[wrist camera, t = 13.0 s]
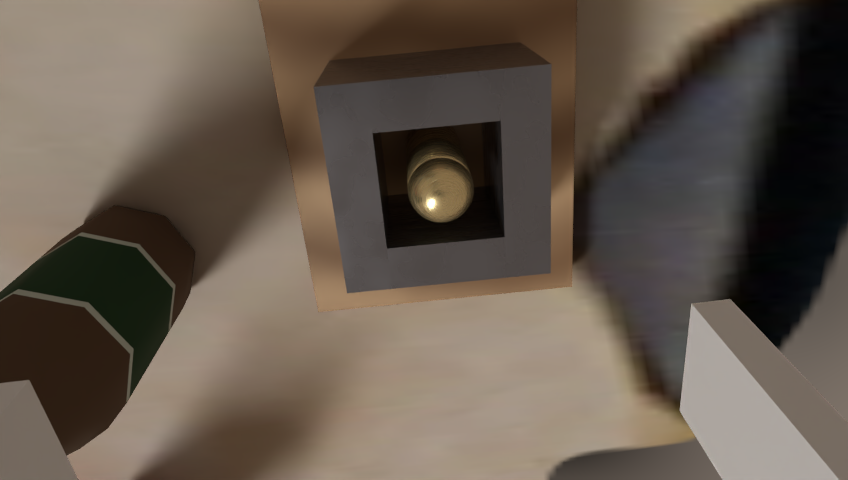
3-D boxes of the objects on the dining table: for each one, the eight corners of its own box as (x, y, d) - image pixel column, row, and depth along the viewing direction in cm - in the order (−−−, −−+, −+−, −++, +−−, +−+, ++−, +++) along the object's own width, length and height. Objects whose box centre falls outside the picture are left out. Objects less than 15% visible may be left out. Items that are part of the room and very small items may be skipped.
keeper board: (259, -38, 31) (251, -37, 30) (567, -68, 31) (578, -69, 30) (321, 295, 40) (318, 311, 38) (563, 271, 40) (571, 286, 38)
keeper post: (402, 121, 33) (405, 172, 26) (456, 116, 33) (475, 164, 26) (407, 173, 35) (412, 236, 27) (460, 168, 35) (479, 229, 27)
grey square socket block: (329, 60, 32) (313, 86, 25) (520, 42, 32) (551, 63, 25) (355, 233, 36) (346, 293, 30) (523, 217, 36) (550, 273, 30)
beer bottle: (179, 192, 37) (-132, 540, 15) (215, 302, 40) (3, 718, 18) (52, 210, 37) (-441, 581, 15) (99, 318, 40) (-250, 751, 18)
